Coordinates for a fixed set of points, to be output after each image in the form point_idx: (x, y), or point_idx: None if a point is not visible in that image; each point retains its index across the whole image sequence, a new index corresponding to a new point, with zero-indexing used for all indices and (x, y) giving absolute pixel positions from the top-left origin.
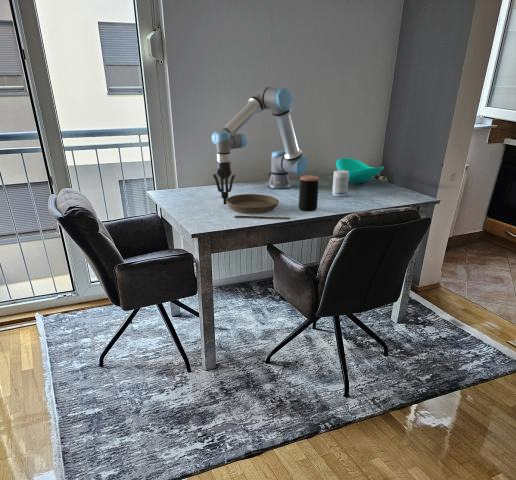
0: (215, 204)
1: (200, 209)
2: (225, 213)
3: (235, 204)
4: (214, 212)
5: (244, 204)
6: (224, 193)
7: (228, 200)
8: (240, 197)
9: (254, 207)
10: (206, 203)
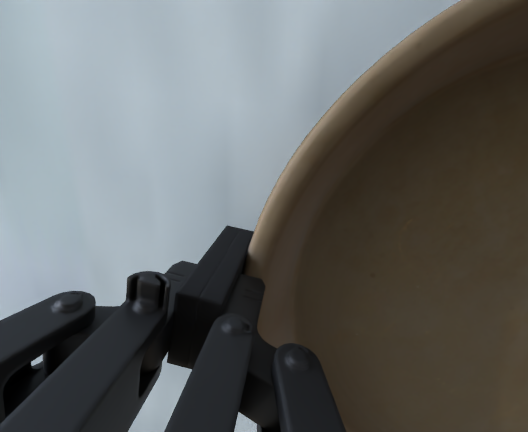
0: (139, 130)
1: (36, 287)
2: (242, 417)
3: (353, 246)
4: (157, 380)
5: (463, 248)
6: (192, 362)
7: (270, 278)
8: (485, 44)
9: None
10: (40, 77)
